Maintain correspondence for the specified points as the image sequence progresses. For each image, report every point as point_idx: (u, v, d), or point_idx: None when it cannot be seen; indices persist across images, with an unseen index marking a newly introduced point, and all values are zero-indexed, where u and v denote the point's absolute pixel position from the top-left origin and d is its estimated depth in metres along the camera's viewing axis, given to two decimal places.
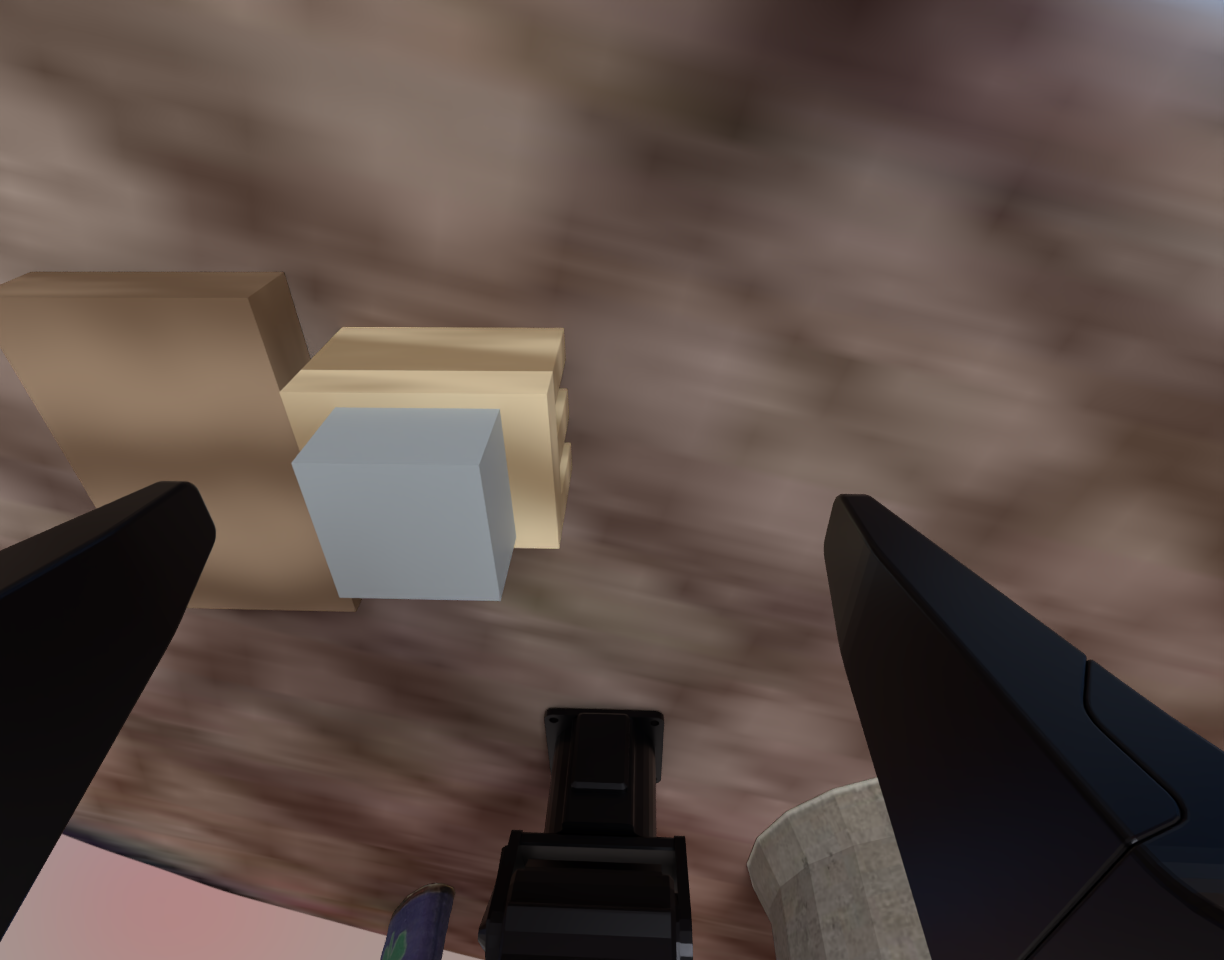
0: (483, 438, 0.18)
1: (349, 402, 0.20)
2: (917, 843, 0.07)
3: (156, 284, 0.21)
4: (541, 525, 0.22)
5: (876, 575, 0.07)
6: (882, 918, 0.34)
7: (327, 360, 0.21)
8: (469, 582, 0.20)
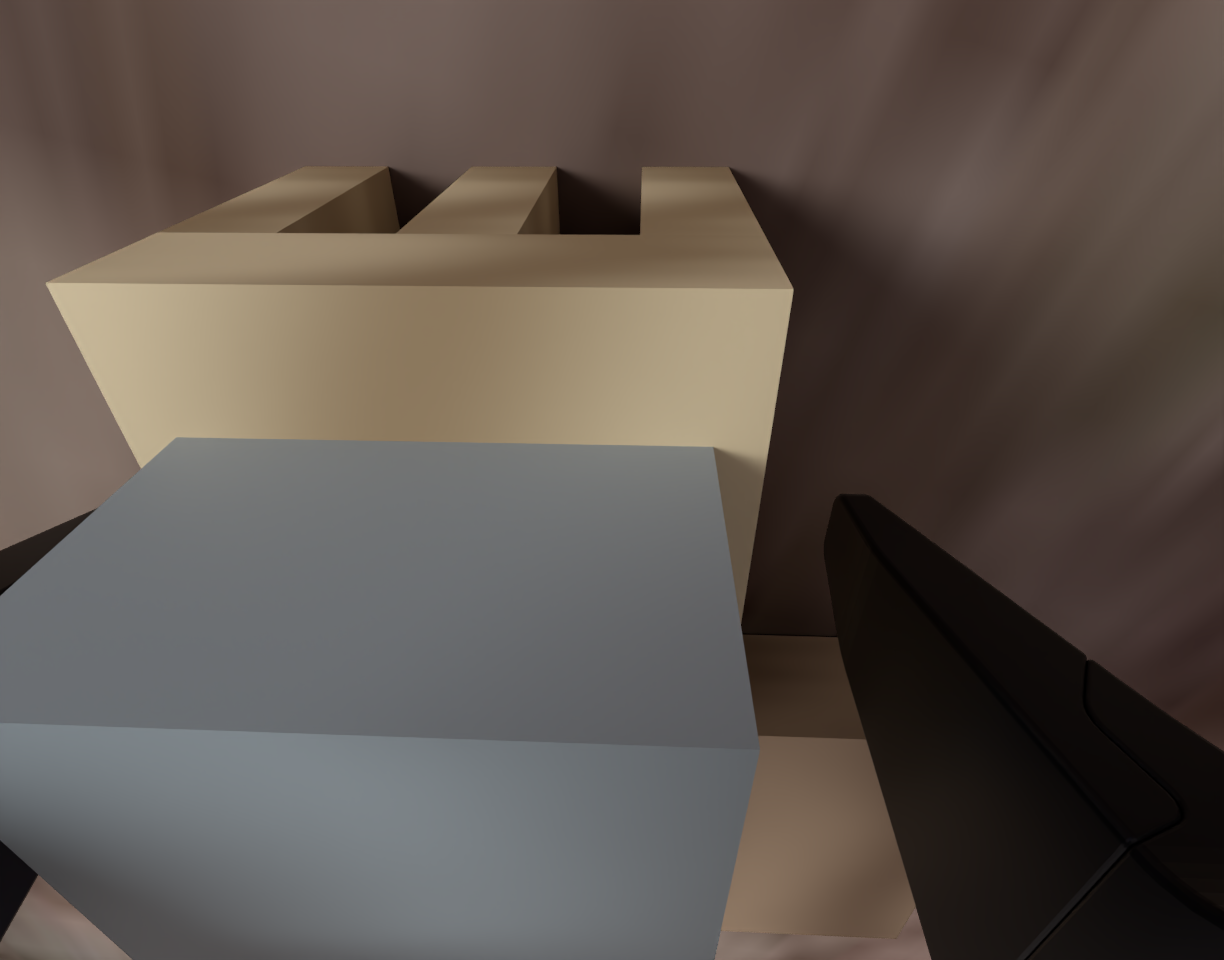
0: None
1: None
2: (917, 843, 0.07)
3: None
4: (660, 350, 0.05)
5: (876, 575, 0.07)
6: None
7: None
8: (621, 824, 0.04)
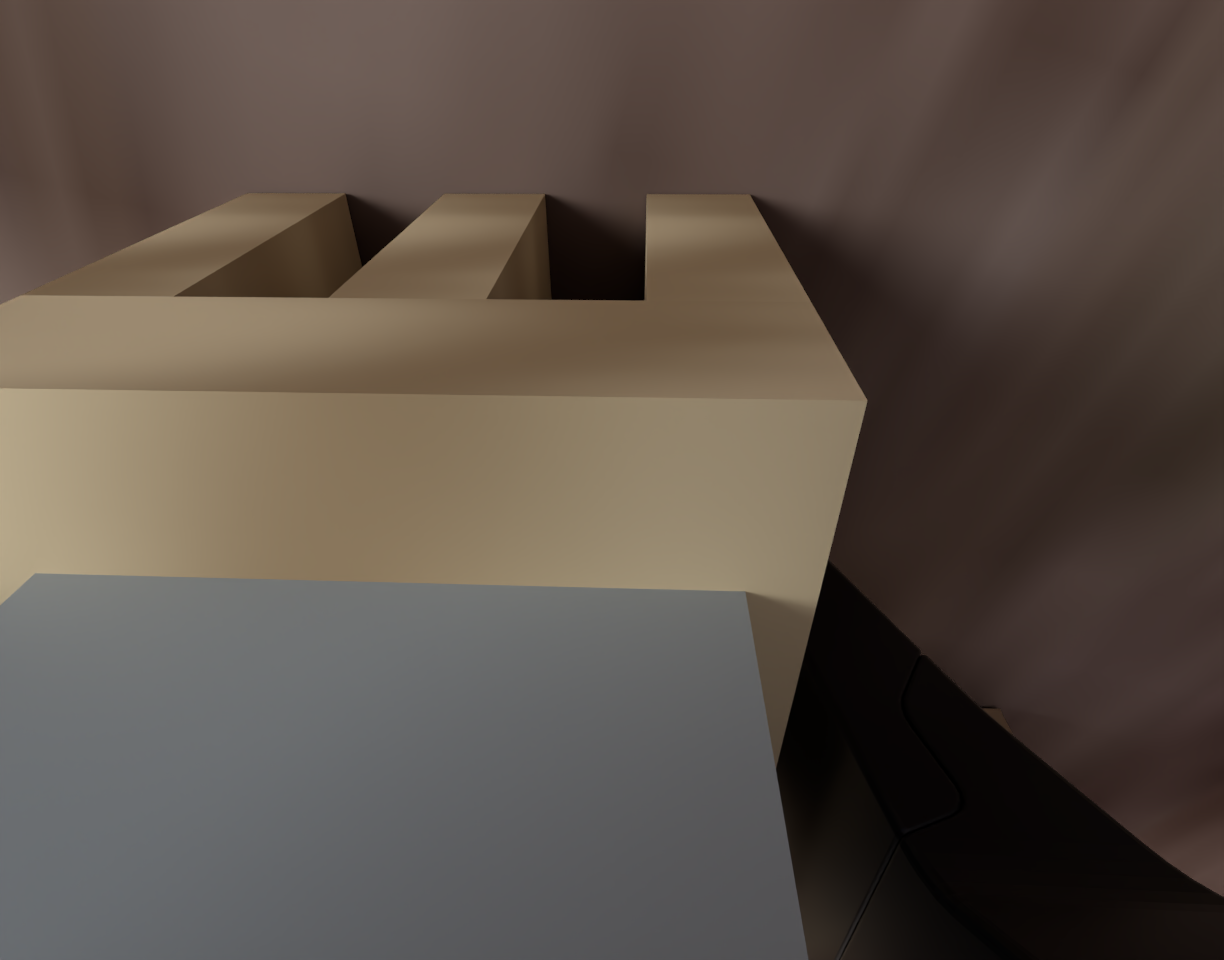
0: None
1: None
2: None
3: None
4: (678, 476, 0.04)
5: None
6: None
7: None
8: None
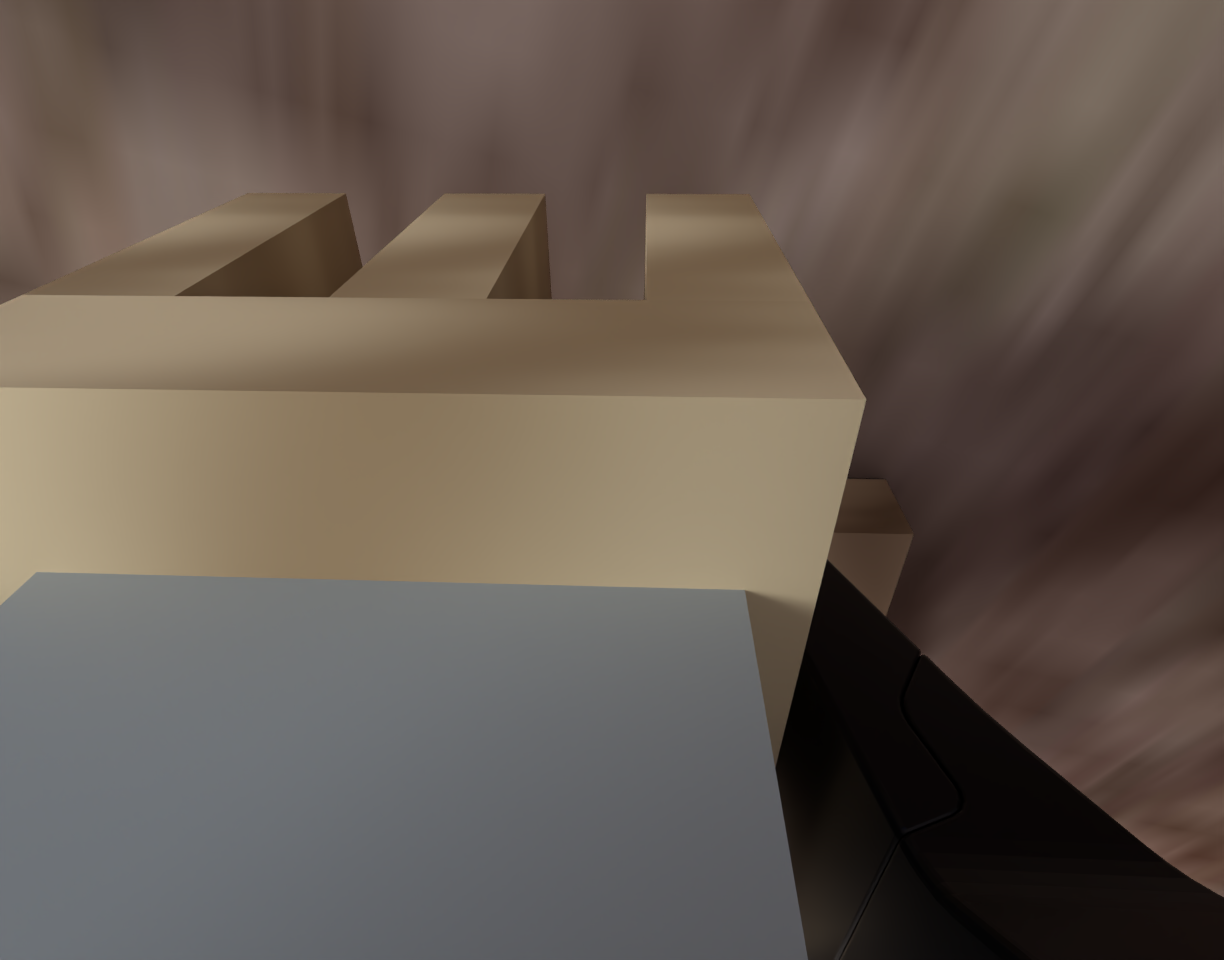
0: None
1: None
2: None
3: None
4: (677, 476, 0.04)
5: None
6: None
7: None
8: None
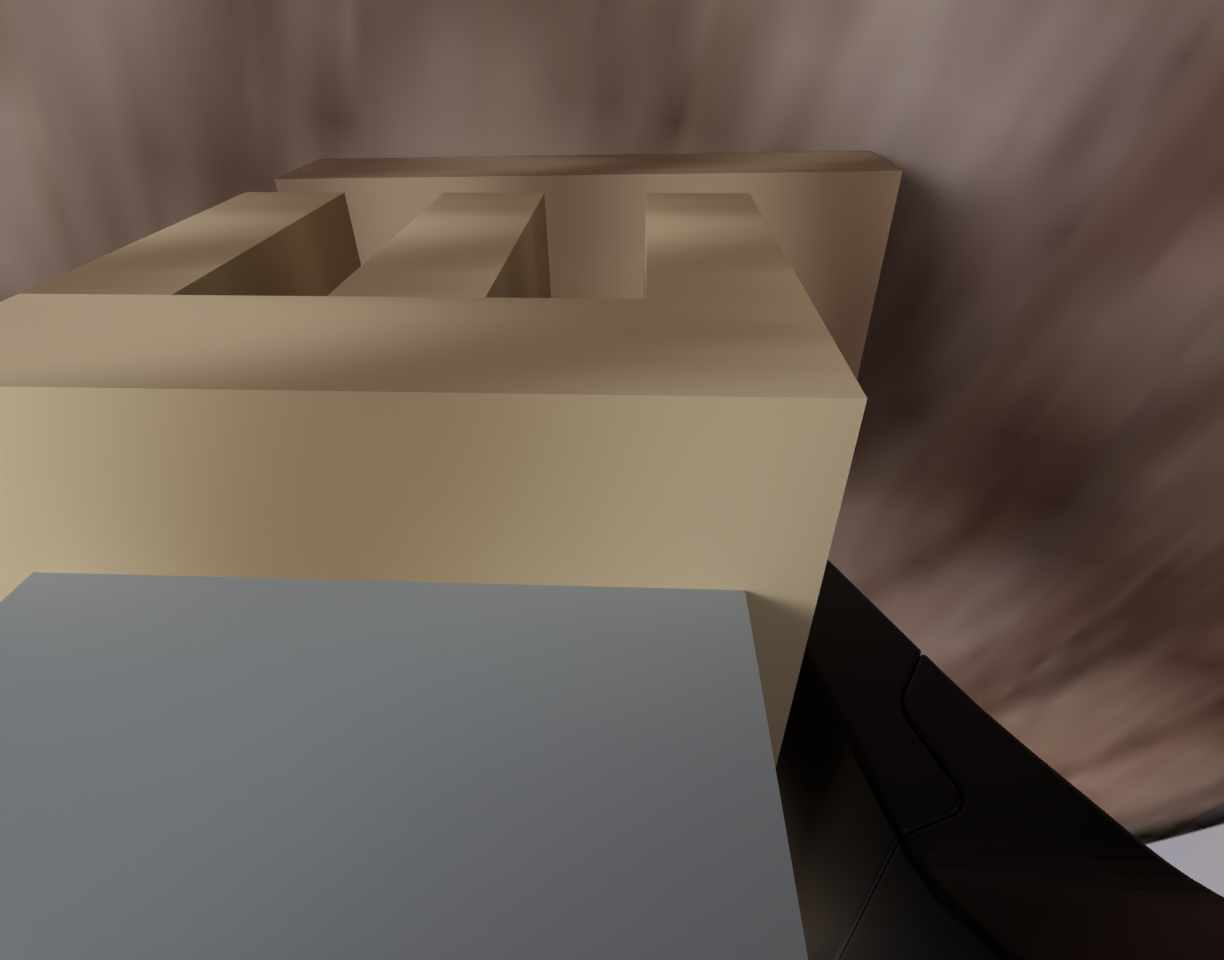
0: None
1: None
2: None
3: None
4: (677, 476, 0.04)
5: None
6: None
7: None
8: None
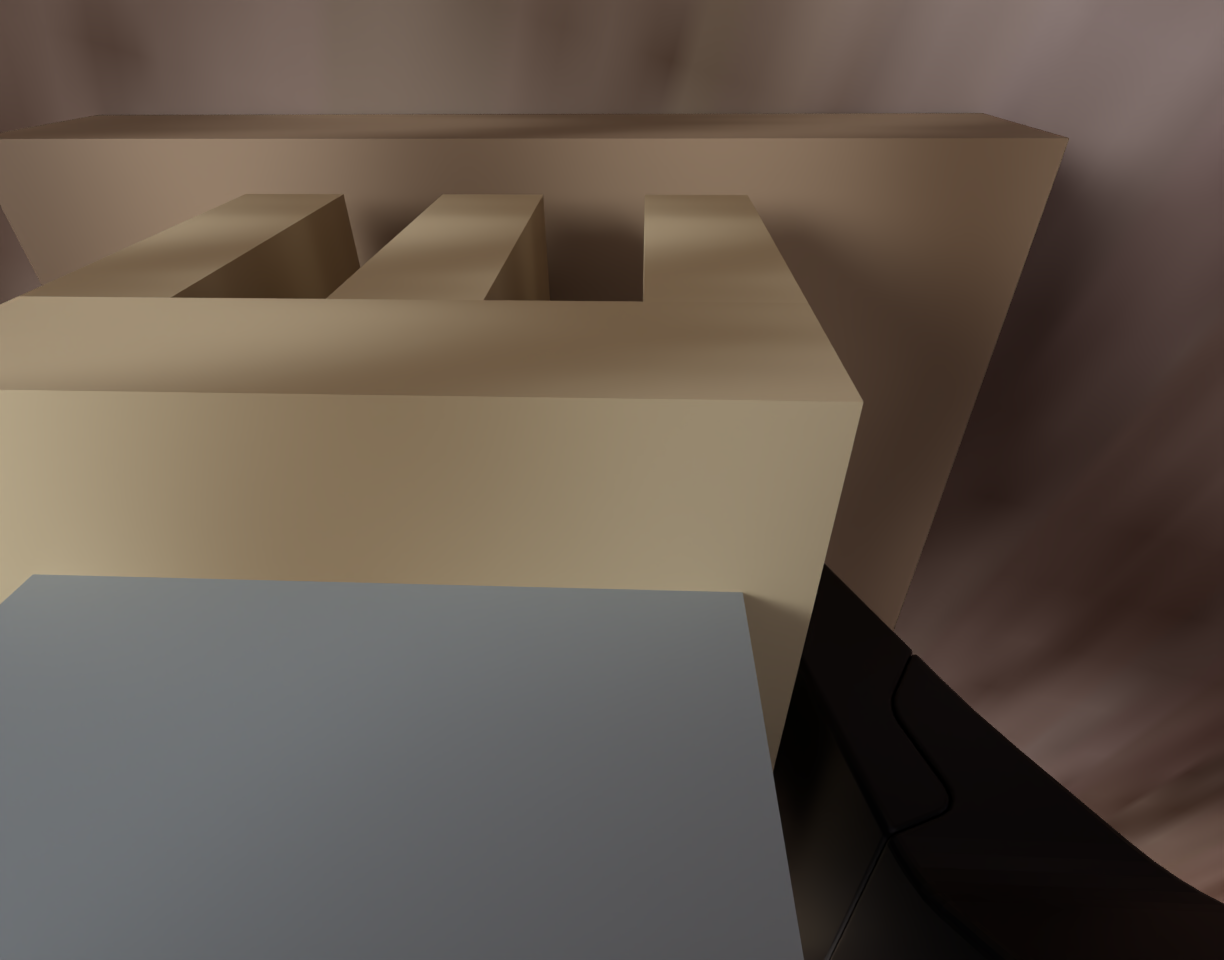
0: None
1: None
2: None
3: None
4: (673, 478, 0.04)
5: None
6: None
7: None
8: None
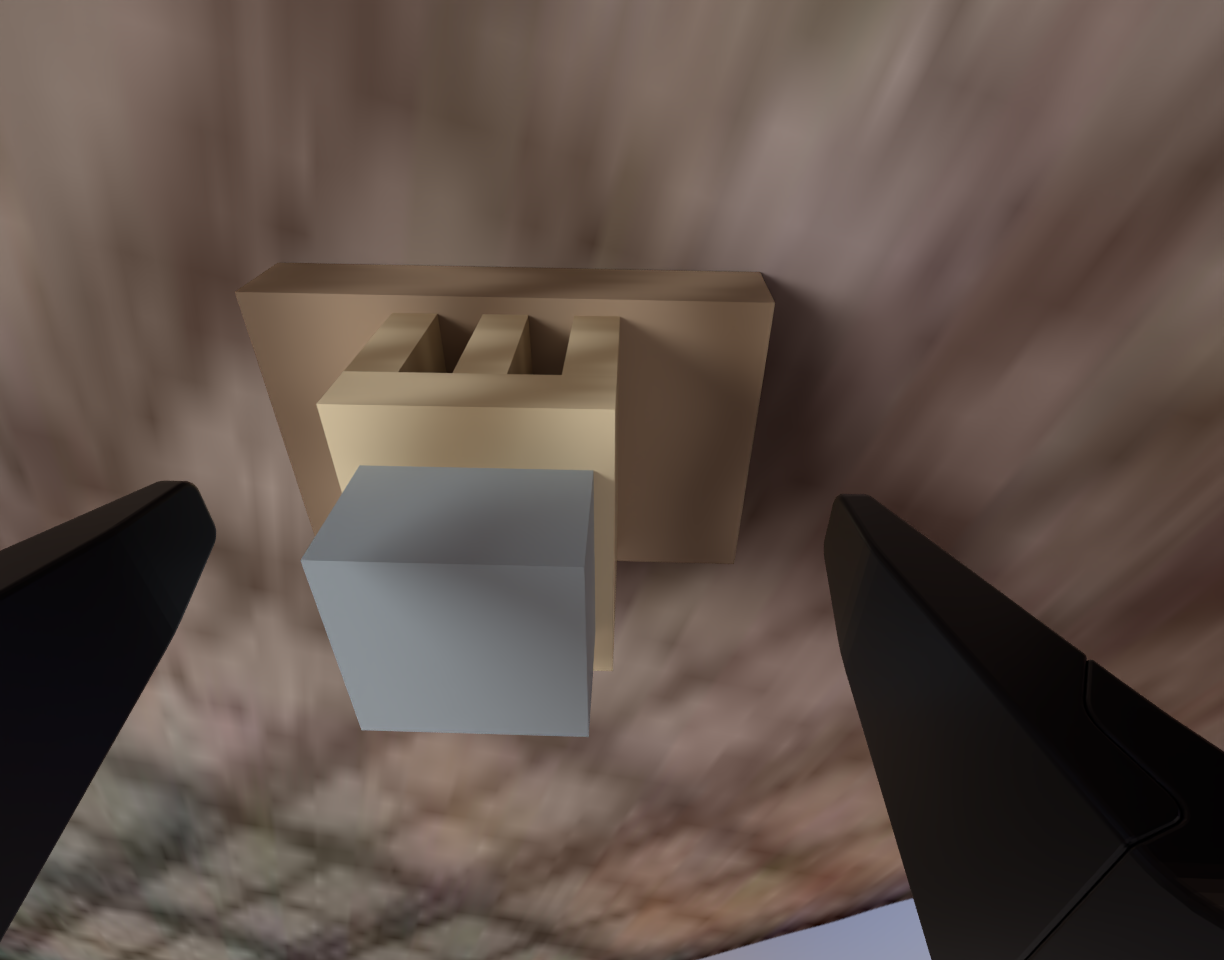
0: None
1: None
2: (917, 843, 0.07)
3: None
4: (565, 431, 0.13)
5: (876, 575, 0.07)
6: None
7: None
8: (545, 601, 0.12)
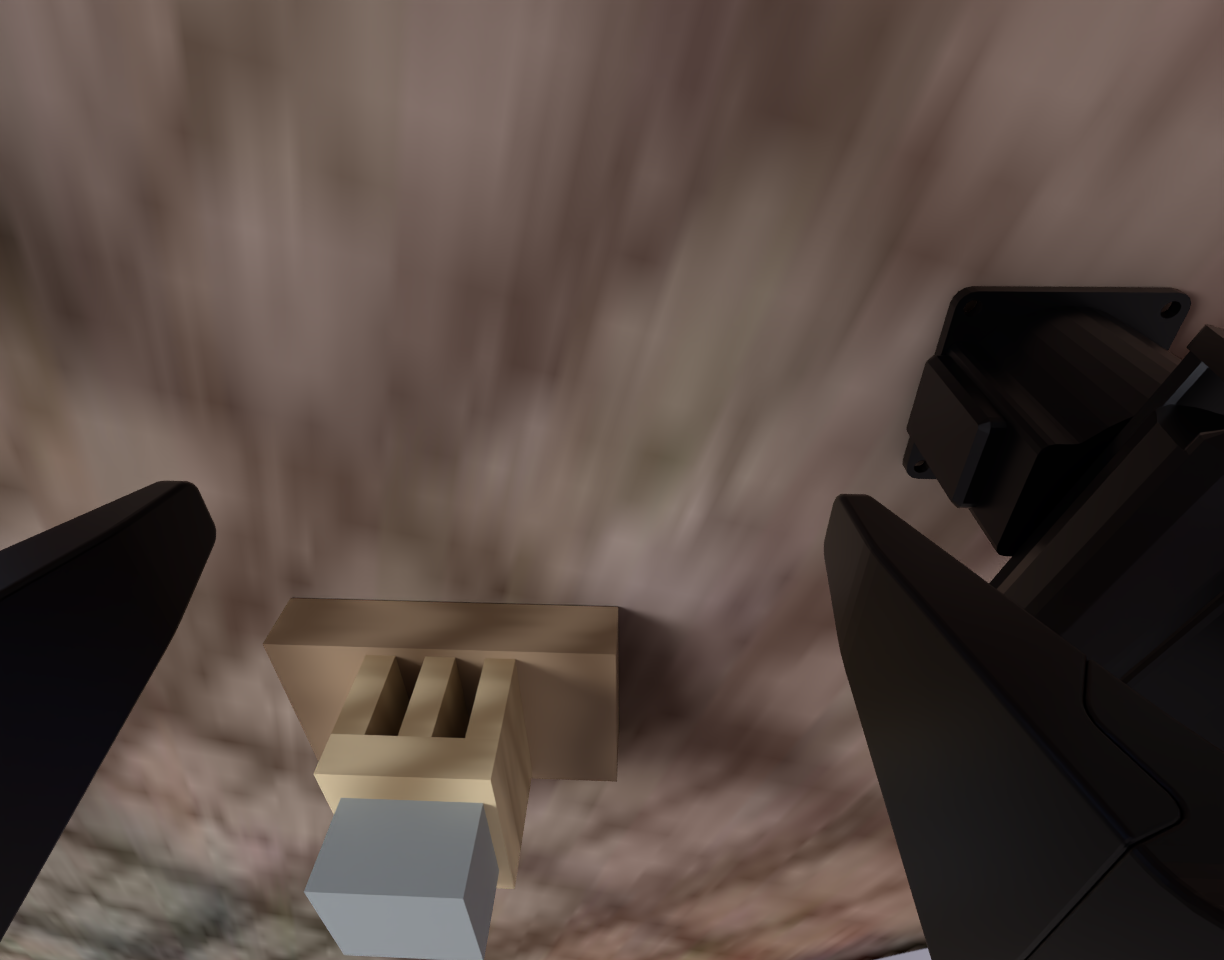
0: (322, 849, 0.21)
1: None
2: (917, 843, 0.07)
3: None
4: (462, 787, 0.22)
5: (876, 575, 0.07)
6: None
7: None
8: (443, 909, 0.21)
